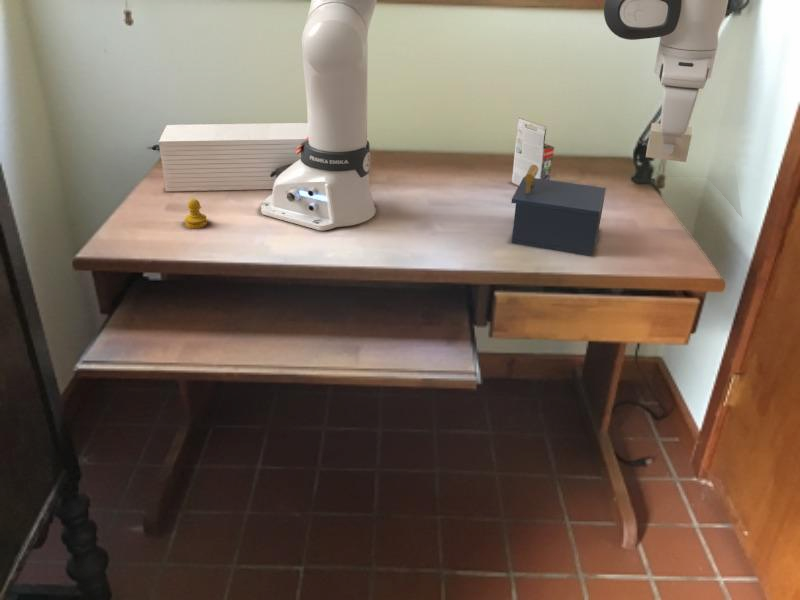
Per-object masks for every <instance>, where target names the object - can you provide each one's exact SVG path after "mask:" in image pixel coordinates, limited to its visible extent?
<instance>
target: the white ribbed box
mask: <svg viewBox="0 0 800 600" xmlns="http://www.w3.org/2000/svg"><path fill="white" fill-rule="evenodd" d="M307 137H308V122H286V123H285V122H283V123H282V122H281V123H280V122H278V123H277V122H275V123H273V122H272V123H269V122H268V123H208V124H207V123H205V124H200V123H198V124H195V123H194V124H166V125H165V128H164V129H163V132H162V134H161V136H160V138H159V140H158V145H159V146H160V147H159V148H160V149H159V154H160V159H161V164H162V165H161V169H162V173H163V174H162V175H163V180H164V186H165V192H200V191H205V192H207V191H244V190H246V191H247V190H250V191H251V190H273V186H274V182H275V180H276V175H274V176H273V177H271V176H270V175H271V173H272V172H274V171H276V169H277V168H280V167H283V166H286V165H289V164H292V163H293V164H294V163H295V162H297V161H298V160H299V159H301V152H300V153H299V154H296V153H297V151H298V150H299V149H298V150H296V149H297V148H298V147H299V146H300V144H301V143H303V142H304V141H306V138H307Z"/></svg>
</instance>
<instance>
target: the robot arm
mask: <svg viewBox="0 0 800 600" xmlns="http://www.w3.org/2000/svg"><path fill="white" fill-rule="evenodd" d="M377 2H378V0H310V6H309V9H308V14H307V17H306V20H305V25H304V28H303V31H302V35H301V51H302V53H301V54H302V64H303V77H304V87H305V96H306V97H305V98H306V116H307V123H308V137H307V138H306V141H304V142H303V143H301V144H300V146H299V147H298V148H297V149H296V150H298V149H299V150H298V151H297V153H296V154H299V153H300V152H301V159H299V160H298V161H297V162H295V163H294V164H293V163H292V164H289V165H286V166H283V167H280V168H277V169H276V171H274V172H272V173H271V175H270V176H271V177H273V176H274V175H276V180H275V182H274V186H273V189H272V193H271V194H269V195H268V196H267V197H266V198H265V199H264V200H263V202H262V203H261V206H260V212H261V215H263V216H266V217H270V218H274V219H277V220H281V221H284V222H288V223H292V224H296V225H299V226H301V227H302V226H303V227H306V228H310V229H313V230H317V231H322V232H323V231H328V230H332V229H335V228H341V227H349V226H350V227H351V226H355V225H360V224H363V223H365V222H367V221H370V220H371V219H373V217H374V216H375V215H376V212H377V209H376V206H375V203H374V199H373V195H372V191H371V183H370V176H369V175H370V174H369V173H370V168H371V151H370V150H371V148H370V147H371V146H370V141H369V140H368V52H369V51H368V50H369V49H368V47H369V46H368V35H369V29H370V25H371V21H372V18H373V15H374V12H375V8H376V5H377ZM728 4H729V0H605V2H604V7H603V18H604V21H605V24H606V26H607V28H608V29H609V30H610V32H611V33H613V35H615V36H617V37H619V38H621V39H624V40H628V41H630V40H631V41H636V40H646V39H648V40H649V39H654V38H659V43H658V48H657V54H656V59H655V63H654V64H655V65H654V70H653V71H654V73H655V74H656V76H657V77H658V79H659V82H660V85H661V88H662V99H661V100H662V101H661V113H660V124H661V126H660V132H661V135H663V136H664V141H663V147H662V153H663V154H672V153H673V150H674V146H675V142H676V140H677V137H679V138H681V137H683V136H684V135H685V133H686V130H687V128H688V127H689V126H690V125H689V124H690V121H691V119H692V116H693V113H694V109H695V106H696V103H697V100H698V96H699V93H700V90H703V89H704V88H705V86H706V83H707V81H708V80H709V79H712V76H713V72H714V67H715V64H716V63H715V62H716V58H717V54H718V50H719V33H720V29H721V26H722V24H723V22H724V20H725V18H726V13H727V10H728ZM159 147H160V146H159V144H154V145H153V146H152V147H151V150H153V151H154V150H156V149H158V150H160V148H159Z"/></svg>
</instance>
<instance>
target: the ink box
mask: <svg viewBox="0 0 800 600" xmlns="http://www.w3.org/2000/svg"><path fill="white" fill-rule="evenodd" d="M527 126H532V127H533V128H536V129H537V130H536V129H532V128H530V127H527ZM546 133H547V126H546V125H543V124H539V123H536V122H533V121H531V120H527V119H524V118H521V117H519V118H518V122H517V129H516V138H515V139H516V140H515V144H514V145H515V146H514V153H513V154H514V156H513V164H512V166H513V167H512V175H511V176H512V177H511V183H512V184H513V185H516V186H517V187H519V185H520V183H521V181H522V179H523V177H525V176H526V174H527V172H528V170H529V168H530V166H532V165H536V166H537V167H538V172H537V174H536V176H535V178H537V179H544V180H551V175H552V168H553V159H554V151H555V146H553V145H550V144H548V143H545V141H546V135H547V134H546Z"/></svg>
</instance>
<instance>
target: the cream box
mask: <svg viewBox="0 0 800 600" xmlns="http://www.w3.org/2000/svg"><path fill="white" fill-rule="evenodd" d="M660 126H661V123H659V122H652V123H651V125H650V130H649V136H648V141H647V145H646V146H647V147H646V153H645V158H649V159H658V160H664V161H665V160H666V161H675V162H680V163H681V162H682V163H686V162H687V159H688V155H689V150H690V146H691V142H692V137H693V127H692V126H688V128H687V130H686V133H685V135H684V136H683V137H681V138H679V137H677V140H676V142H675V146H674V150H673V153H672V154H663V153H662V147H663V141H664V136H663V135H661V132H660Z"/></svg>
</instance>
